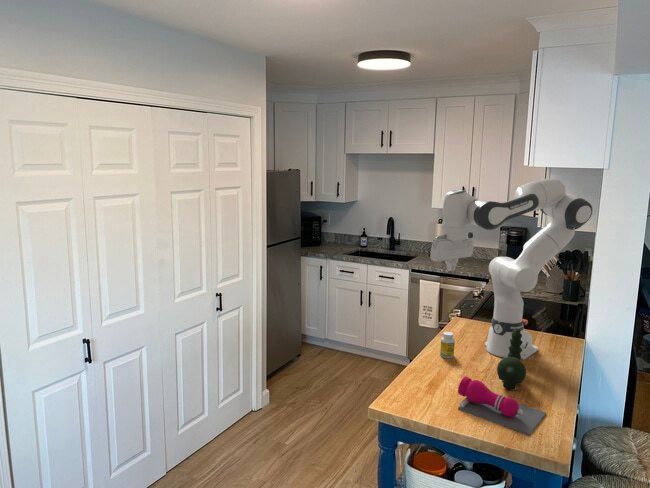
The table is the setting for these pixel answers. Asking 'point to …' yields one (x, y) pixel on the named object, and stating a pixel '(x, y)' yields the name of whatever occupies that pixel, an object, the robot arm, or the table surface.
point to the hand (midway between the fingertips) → (450, 270)
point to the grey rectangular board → (517, 423)
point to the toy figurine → (512, 364)
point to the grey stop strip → (464, 402)
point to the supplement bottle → (447, 345)
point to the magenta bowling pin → (488, 397)
